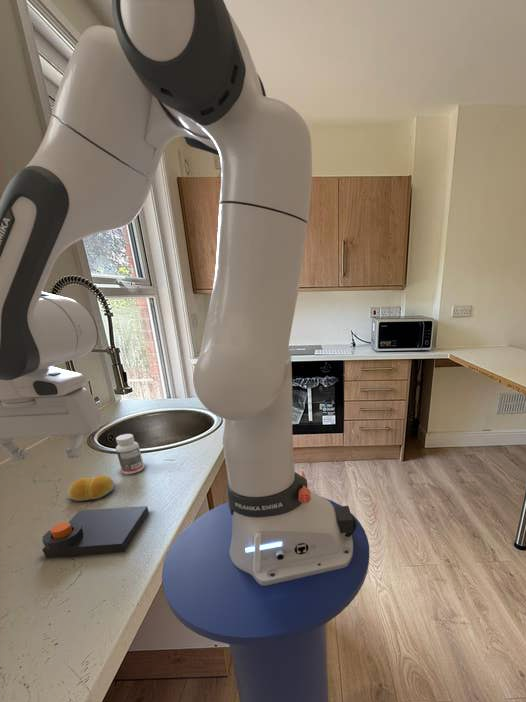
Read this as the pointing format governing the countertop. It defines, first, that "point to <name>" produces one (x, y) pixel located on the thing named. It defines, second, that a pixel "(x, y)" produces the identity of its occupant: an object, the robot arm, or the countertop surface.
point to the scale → (97, 532)
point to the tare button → (61, 530)
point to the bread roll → (90, 488)
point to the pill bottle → (129, 454)
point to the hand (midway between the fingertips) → (47, 457)
